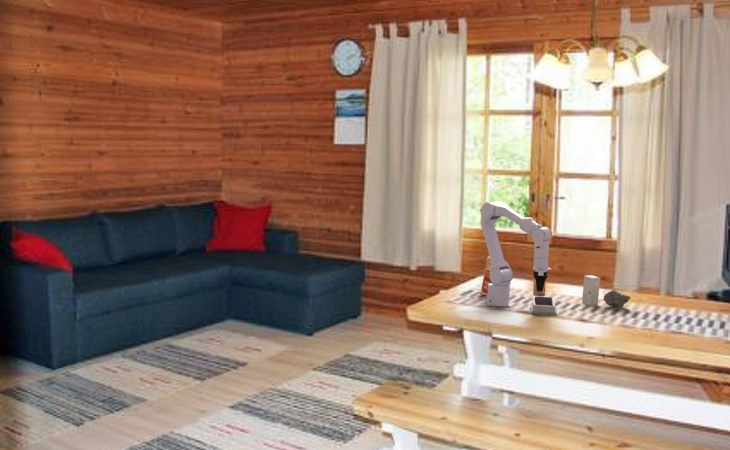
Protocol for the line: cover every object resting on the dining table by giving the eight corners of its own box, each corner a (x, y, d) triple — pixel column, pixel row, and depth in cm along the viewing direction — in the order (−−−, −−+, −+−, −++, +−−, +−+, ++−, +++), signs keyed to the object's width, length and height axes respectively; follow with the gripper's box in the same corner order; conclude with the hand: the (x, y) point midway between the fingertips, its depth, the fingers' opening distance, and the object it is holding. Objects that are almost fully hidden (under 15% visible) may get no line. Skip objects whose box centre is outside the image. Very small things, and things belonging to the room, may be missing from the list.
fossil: (631, 307, 299) (633, 289, 298) (628, 312, 291) (629, 293, 290) (604, 304, 304) (605, 286, 303) (600, 308, 297) (601, 289, 296)
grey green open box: (531, 313, 285) (531, 301, 285) (530, 307, 296) (531, 295, 296) (556, 315, 283) (557, 303, 283) (555, 309, 294) (555, 297, 294)
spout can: (533, 296, 285) (534, 280, 284) (532, 293, 290) (533, 278, 289) (545, 296, 284) (546, 281, 284) (544, 294, 289) (545, 278, 288)
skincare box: (581, 302, 307) (583, 275, 305) (590, 302, 308) (591, 274, 307) (590, 305, 301) (591, 278, 300) (599, 305, 302) (600, 277, 301)
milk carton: (480, 293, 323) (481, 250, 320) (497, 291, 327) (498, 249, 324) (491, 297, 315) (493, 253, 312) (508, 295, 318) (510, 252, 316)
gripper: (552, 260, 277) (550, 294, 279) (550, 254, 291) (549, 287, 293) (533, 259, 279) (532, 293, 280) (533, 254, 293) (531, 286, 295)
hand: (539, 290), depth 287 cm, fingers closed on spout can, 5 cm apart
